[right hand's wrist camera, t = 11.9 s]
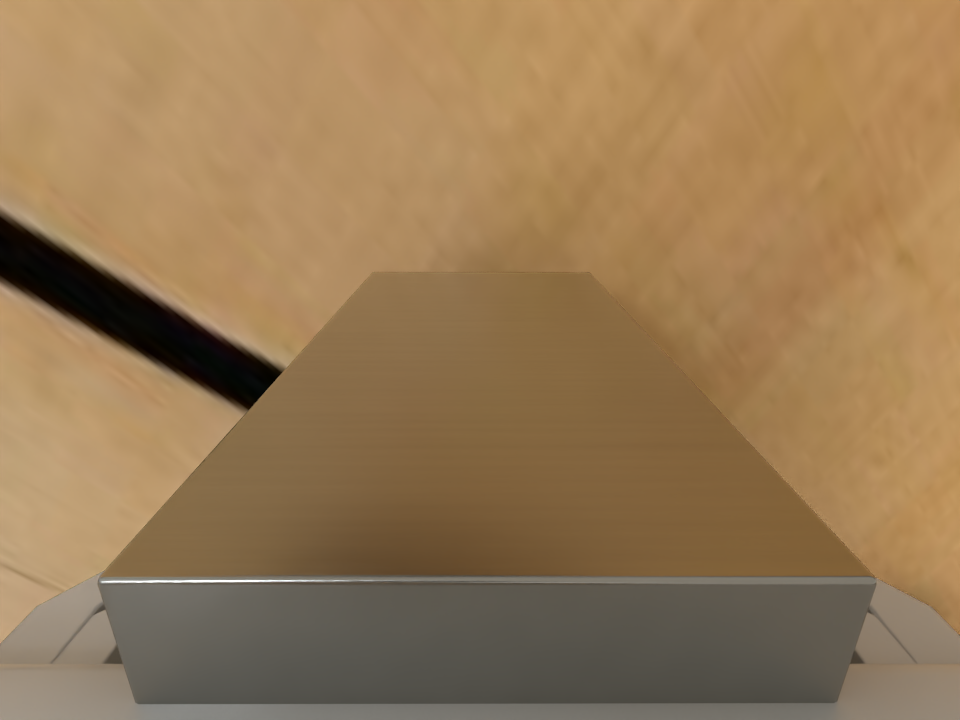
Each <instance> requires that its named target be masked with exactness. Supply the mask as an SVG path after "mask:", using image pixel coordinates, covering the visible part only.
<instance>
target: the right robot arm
mask: <svg viewBox="0 0 960 720" xmlns="http://www.w3.org/2000/svg"><path fill="white" fill-rule="evenodd" d="M103 572H104V571H103ZM103 572H101V573H99V574H97V575H95V576H93V577H91V578H90V579H88V580H86V581H84V582H82V583H80V584H78V585H76V586H74V587H72V588H71V589H69V590H67V591H65V592H63V593H61V594H59V595H57V596H55V597H53V598H52V599H50V600H48V601H46V602H44V603H42V604H40V605H38V606H37V607H36V608H35V609H34V610H33V611H32V612H31V613H30V614H29V615H28V616H27V617H26V618H25V619H24V620H23V621H22V622H21V623H20V624H19V625H18V626H17V627H16V628H15V629H14V630H13V631H12V632H11V633H10V634H9V635H8V636H7V637H6V638H5V639H4V640H3V641H2V642H1V643H0V720H960V635H959V634H958V633H957V632H956V631H955V630H954V629H953V628H952V627H951V626H950V625H949V624H948V623H947V622H946V621H945V620H944V619H943V618H942V617H941V616H940V615H939V614H938V613H937V612H936V611H935V610H934V609H933V608H932V607H931V606H929V605H927V604H925V603H923V602H921V601H919V600H917V599H915V598H913V597H911V596H910V595H908V594H906V593H904V592H902V591H900V590H898V589H896V588H894V587H892V586H890V585H889V584H887V583H885V582H883V581H881V580H879V579H877V578H875V579H876V583H877V585H876V588H875V591H874V594H873V597H872V600H871V603H870V606H869V609H868V612H867V615H866V618H865V621H864V624H863V627H862V630H861V632H860V635H859V638H858V641H857V644H856V647H855V650H854V653H853V656H852V659H851V662H850V665H849V668H848V671H847V674H846V677H845V680H844V683H843V686H842V689H841V692H840V695H839V698H838V701H837V702H835V703H599V704H137V703H135V700H134V697H133V694H132V691H131V688H130V685H129V681H128V678H127V675H126V672H125V669H124V666H123V663H122V660H121V656H120V653H119V650H118V647H117V644H116V641H115V638H114V635H113V631H112V628H111V625H110V622H109V619H108V616H107V613H106V610H105V607H104V603H103V600H102V597H101V594H100V591H99V588H98V585H97V584H98V579H99V577H100V575H101V574H102V573H103Z"/></svg>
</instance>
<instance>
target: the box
mask: <svg viewBox="0 0 960 720" xmlns="http://www.w3.org/2000/svg"><path fill="white" fill-rule="evenodd" d="M97 585H98V588H99V591H100V594H101V597H102V600H103V603H104V607H105V610H106V613H107V616H108V619H109V622H110V625H111V628H112V631H113V635H114V638H115V641H116V644H117V647H118V650H119V653H120V656H121V660H122V663H123V666H124V669H125V672H126V675H127V678H128V681H129V685H130V688H131V691H132V694H133V697H134V700H135V703H137V704H599V703H835V702H837V701H838V698H839V695H840V692H841V689H842V686H843V683H844V680H845V677H846V674H847V671H848V668H849V665H850V662H851V659H852V656H853V653H854V650H855V647H856V644H857V641H858V638H859V635H860V632H861V630H862V627H863V624H864V621H865V618H866V615H867V612H868V609H869V606H870V603H871V600H872V597H873V594H874V591H875V588H876V585H877V583H876V579H875V577H874V575H873V574H872V573H871V572H870V571H869V570H868V569H867V568H866V567H865V566H864V565H863V564H862V563H861V562H860V560H859V559H858V558H857V557H856V556H855V555H854V554H853V553H852V552H851V551H850V550H849V549H848V548H847V547H846V546H845V544H844V543H843V542H842V541H841V540H840V539H839V538H838V537H837V536H836V535H835V534H834V533H833V532H832V531H831V529H830V528H829V527H828V526H827V525H826V524H825V523H824V522H823V521H822V520H821V519H820V518H819V517H818V516H817V515H816V513H815V512H814V511H813V510H812V509H811V508H810V507H809V506H808V505H807V504H806V503H805V502H804V501H803V500H802V499H801V497H800V496H799V495H798V494H797V493H796V492H795V491H794V490H793V489H792V488H791V487H790V486H789V485H788V484H787V483H786V481H785V480H784V479H783V478H782V477H781V476H780V475H779V474H778V473H777V472H776V471H775V470H774V469H773V468H772V467H771V465H770V464H769V463H768V462H767V461H766V460H765V459H764V458H763V457H762V456H761V455H760V454H759V453H758V452H757V450H756V449H755V448H754V447H753V446H752V445H751V444H750V443H749V442H748V441H747V440H746V439H745V438H744V437H743V436H742V434H741V433H740V432H739V431H738V430H737V429H736V428H735V427H734V426H733V425H732V424H731V423H730V422H729V421H728V420H727V418H726V417H725V416H724V415H723V414H722V413H721V412H720V411H719V410H718V409H717V408H716V407H715V406H714V405H713V404H712V402H711V401H710V400H709V399H708V398H707V397H706V396H705V395H704V394H703V393H702V392H701V391H700V390H699V389H698V388H697V386H696V385H695V384H694V383H693V382H692V381H691V380H690V379H689V378H688V377H687V376H686V375H685V374H684V373H683V372H682V370H681V369H680V368H679V367H678V366H677V365H676V364H675V363H674V362H673V361H672V360H671V359H670V358H669V357H668V355H667V354H666V353H665V352H664V351H663V350H662V349H661V348H660V347H659V346H658V345H657V344H656V343H655V342H654V341H653V339H652V338H651V337H650V336H649V335H648V334H647V333H646V332H645V331H644V330H643V329H642V328H641V327H640V326H639V325H638V323H637V322H636V321H635V320H634V319H633V318H632V317H631V316H630V315H629V314H628V313H627V312H626V311H625V310H624V309H623V307H622V306H621V305H620V304H619V303H618V302H617V301H616V300H615V299H614V298H613V297H612V296H611V295H610V294H609V293H608V291H607V290H606V289H605V288H604V287H603V286H602V285H601V284H600V283H599V282H598V281H597V280H596V279H595V278H594V277H593V275H592V274H591V273H589V272H373V273H372V274H371V275H370V276H369V277H368V278H367V279H366V280H365V281H364V282H363V284H362V285H361V286H360V287H359V288H358V289H357V290H356V291H355V292H354V294H353V295H352V296H351V297H350V298H349V299H348V300H347V301H346V303H345V304H344V305H343V306H342V307H341V308H340V309H339V310H338V311H337V313H336V314H335V315H334V316H333V317H332V318H331V319H330V320H329V321H328V323H327V324H326V325H325V326H324V327H323V328H322V329H321V330H320V331H319V333H318V334H317V335H316V336H315V337H314V338H313V339H312V340H311V341H310V343H309V344H308V345H307V346H306V347H305V348H304V349H303V350H302V352H301V353H300V354H299V355H298V356H297V357H296V358H295V359H294V360H293V362H292V363H291V364H290V365H289V366H288V367H287V368H286V369H285V370H284V372H283V373H282V374H281V375H280V376H279V377H278V378H277V379H276V380H275V382H274V383H273V384H272V385H271V386H270V387H269V388H268V389H267V391H266V392H265V393H264V394H263V395H262V396H261V397H260V398H259V399H258V401H257V402H256V403H255V404H254V405H253V406H252V407H251V408H250V409H249V411H248V412H247V413H246V414H245V415H244V416H243V417H242V418H241V419H240V421H239V422H238V423H237V424H236V425H235V426H234V427H233V428H232V429H231V431H230V432H229V433H228V434H227V435H226V436H225V437H224V438H223V440H222V441H221V442H220V443H219V444H218V445H217V446H216V447H215V448H214V450H213V451H212V452H211V453H210V454H209V455H208V456H207V457H206V458H205V460H204V461H203V462H202V463H201V464H200V465H199V466H198V467H197V468H196V470H195V471H194V472H193V473H192V474H191V475H190V476H189V477H188V478H187V480H186V481H185V482H184V483H183V484H182V485H181V486H180V487H179V489H178V490H177V491H176V492H175V493H174V494H173V495H172V496H171V497H170V499H169V500H168V501H167V502H166V503H165V504H164V505H163V506H162V507H161V509H160V510H159V511H158V512H157V513H156V514H155V515H154V516H153V517H152V519H151V520H150V521H149V522H148V523H147V524H146V525H145V526H144V527H143V529H142V530H141V531H140V532H139V533H138V534H137V535H136V536H135V538H134V539H133V540H132V541H131V542H130V543H129V544H128V545H127V546H126V548H125V549H124V550H123V551H122V552H121V553H120V554H119V555H118V556H117V558H116V559H115V560H114V561H113V562H112V563H111V564H110V565H109V566H108V568H107V569H106V570H105V571H104V572H103V573H102V574H101V575H100V577H99V579H98V584H97Z"/></svg>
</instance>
